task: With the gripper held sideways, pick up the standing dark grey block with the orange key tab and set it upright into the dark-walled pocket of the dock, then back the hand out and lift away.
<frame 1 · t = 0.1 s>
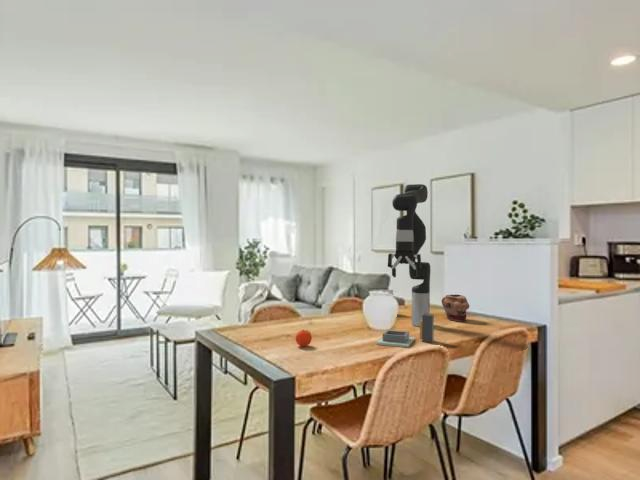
hand: (404, 277, 199), 29 cm above the table, tool pointing down, fingers open, 8 cm apart
decorative planter: (454, 319, 257), on the table
plug dock: (395, 341, 204), on the table
ink cartridge box: (385, 314, 274), on the table
clementine: (304, 346, 197), on the table
dark grey block: (427, 341, 206), on the table
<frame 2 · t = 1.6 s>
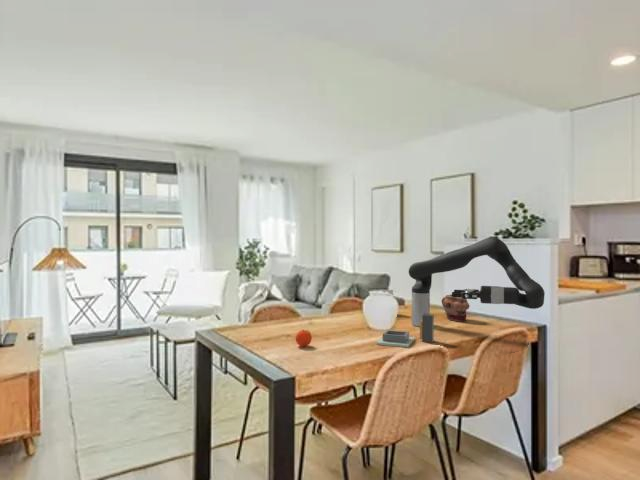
hand: (453, 293, 201), 22 cm above the table, tool horizontal, fingers open, 8 cm apart
nothing on the table moved.
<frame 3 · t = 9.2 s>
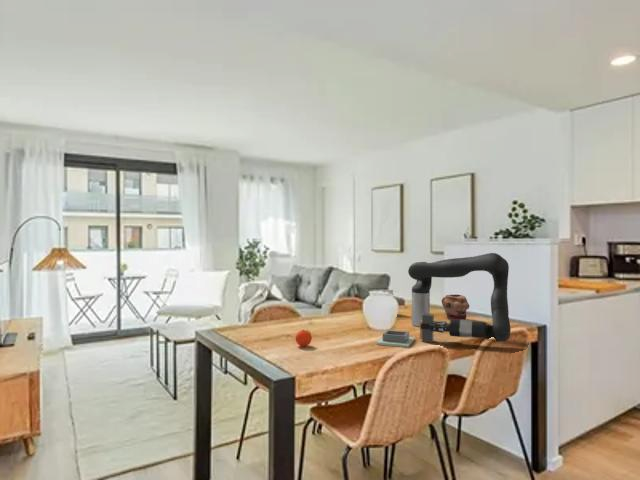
hand: (421, 325, 207), 7 cm above the table, tool horizontal, fingers closed on dark grey block, 4 cm apart
dark grey block: (427, 341, 206), on the table, touching gripper
everything else where it was.
when the fingers open (9 cm above the table, at t = 16.2 s): dark grey block drops 1 cm, resting on plug dock.
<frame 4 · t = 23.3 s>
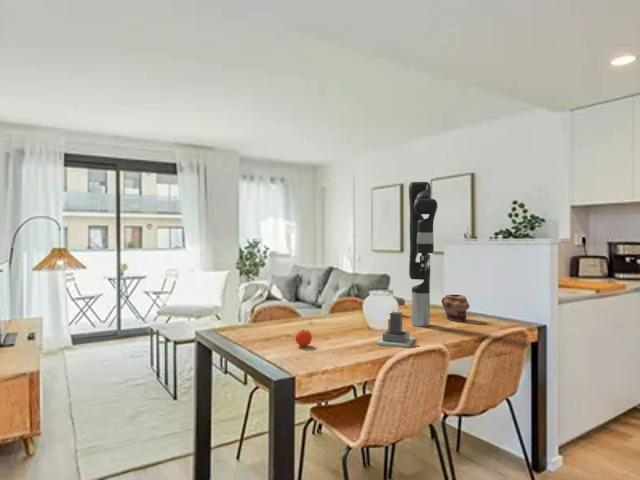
hand: (424, 278, 209), 28 cm above the table, tool pointing down, fingers open, 8 cm apart
dark grey block: (396, 339, 204), point 1 cm above the table, touching plug dock
everything else where it was.
at the end: dark grey block 0.1 cm off-centre on the plug dock, point 1.0 cm above the plug dock's base; dark grey block tilted 0°; the gripper is holding nothing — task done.
